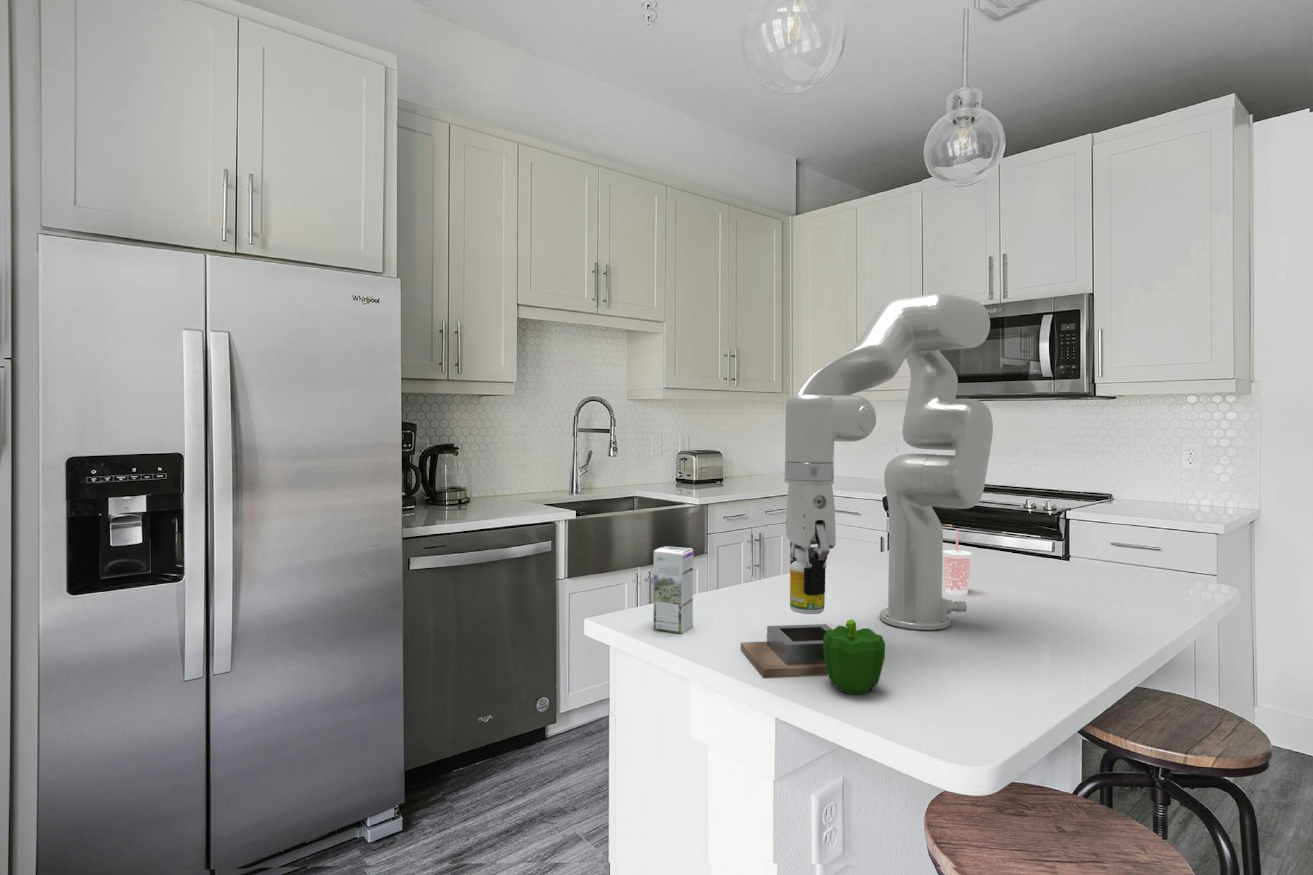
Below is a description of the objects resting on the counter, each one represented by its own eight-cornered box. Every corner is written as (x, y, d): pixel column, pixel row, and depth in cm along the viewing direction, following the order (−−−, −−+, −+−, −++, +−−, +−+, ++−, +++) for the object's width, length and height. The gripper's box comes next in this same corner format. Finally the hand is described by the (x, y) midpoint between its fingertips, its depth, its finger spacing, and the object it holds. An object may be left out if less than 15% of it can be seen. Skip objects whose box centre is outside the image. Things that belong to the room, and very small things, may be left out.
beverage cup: (935, 590, 160) (936, 528, 160) (959, 588, 162) (960, 527, 161) (953, 596, 154) (954, 532, 154) (977, 595, 156) (978, 531, 156)
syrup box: (693, 626, 130) (694, 547, 130) (681, 634, 125) (682, 552, 125) (665, 622, 133) (666, 544, 133) (652, 630, 127) (652, 549, 127)
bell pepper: (844, 673, 106) (844, 606, 106) (894, 688, 100) (895, 617, 100) (809, 686, 101) (810, 616, 100) (860, 703, 94) (861, 628, 94)
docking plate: (845, 645, 119) (845, 638, 119) (880, 672, 106) (880, 664, 106) (740, 649, 117) (740, 642, 117) (763, 677, 104) (763, 669, 104)
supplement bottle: (806, 604, 115) (807, 545, 115) (832, 611, 111) (832, 550, 110) (782, 608, 112) (783, 548, 112) (807, 616, 108) (808, 553, 108)
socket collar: (825, 642, 117) (825, 623, 117) (850, 662, 107) (850, 642, 107) (767, 644, 116) (767, 626, 116) (786, 664, 106) (786, 644, 106)
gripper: (854, 477, 103) (852, 602, 103) (812, 470, 120) (810, 577, 120) (804, 477, 102) (802, 603, 102) (769, 470, 119) (767, 578, 119)
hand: (807, 588), depth 111 cm, fingers closed on supplement bottle, 5 cm apart
